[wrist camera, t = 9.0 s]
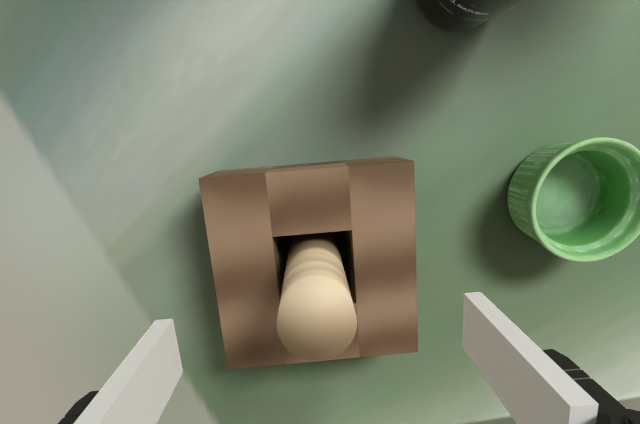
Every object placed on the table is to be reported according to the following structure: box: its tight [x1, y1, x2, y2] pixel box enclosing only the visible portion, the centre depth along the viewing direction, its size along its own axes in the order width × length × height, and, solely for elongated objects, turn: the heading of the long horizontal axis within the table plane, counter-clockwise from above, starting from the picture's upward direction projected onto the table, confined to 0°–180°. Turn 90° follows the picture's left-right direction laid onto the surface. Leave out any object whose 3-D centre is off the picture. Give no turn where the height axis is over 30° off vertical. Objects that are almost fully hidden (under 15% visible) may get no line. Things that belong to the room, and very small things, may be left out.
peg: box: [277, 232, 357, 361], centre depth 23 cm, size 4×4×12 cm
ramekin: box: [507, 137, 640, 262], centre depth 27 cm, size 9×9×4 cm
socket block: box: [199, 157, 418, 369], centre depth 27 cm, size 14×14×5 cm
